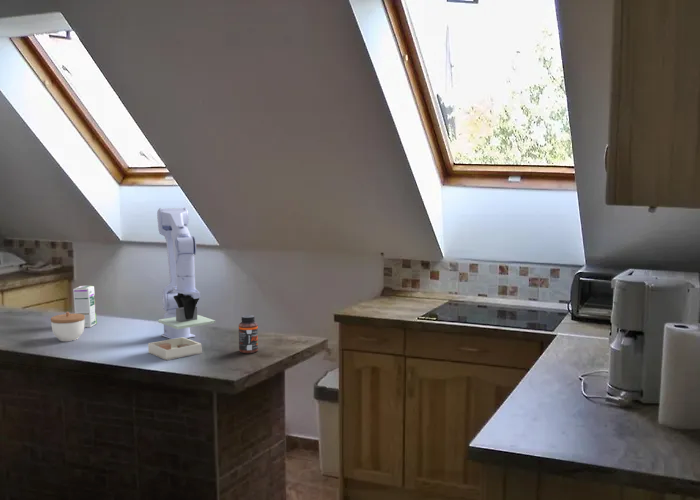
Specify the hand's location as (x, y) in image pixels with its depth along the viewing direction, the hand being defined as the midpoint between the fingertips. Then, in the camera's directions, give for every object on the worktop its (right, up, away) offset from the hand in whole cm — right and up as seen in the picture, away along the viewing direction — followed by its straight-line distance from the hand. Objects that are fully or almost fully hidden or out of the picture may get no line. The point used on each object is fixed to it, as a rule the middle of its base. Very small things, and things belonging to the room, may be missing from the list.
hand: (187, 318), depth 226 cm
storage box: (-3, -11, -2) cm, 11 cm away
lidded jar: (-44, -9, +17) cm, 48 cm away
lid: (0, -1, 0) cm, 1 cm away
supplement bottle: (+19, -11, -1) cm, 22 cm away
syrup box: (-45, -7, +37) cm, 59 cm away
